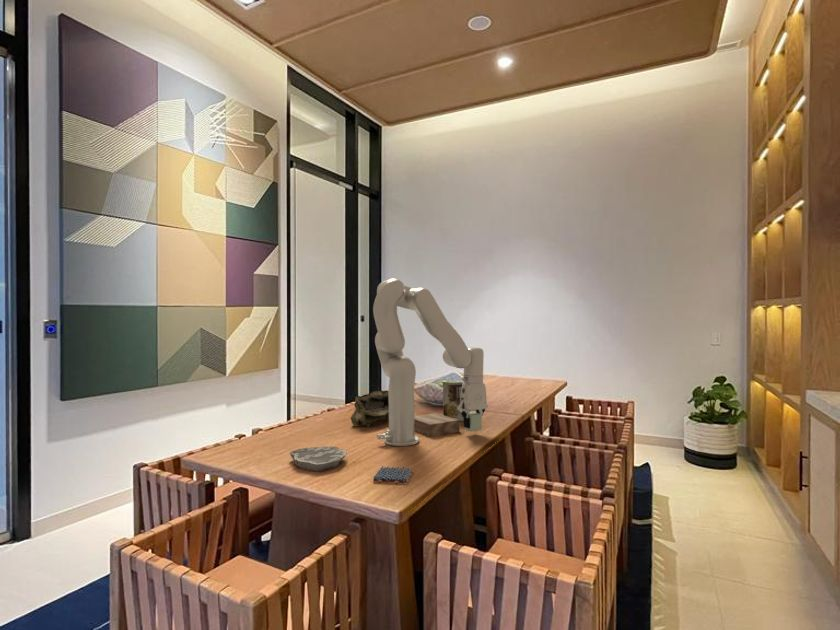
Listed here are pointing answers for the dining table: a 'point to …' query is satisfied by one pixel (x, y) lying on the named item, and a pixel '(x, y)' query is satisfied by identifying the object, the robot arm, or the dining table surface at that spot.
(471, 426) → the sage block
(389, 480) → the bristly blue-grey mat
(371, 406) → the hollow geode rock
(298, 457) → the flat grey stone slab
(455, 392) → the coffee box
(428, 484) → the dining table surface
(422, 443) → the dining table surface
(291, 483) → the dining table surface
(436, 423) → the block
